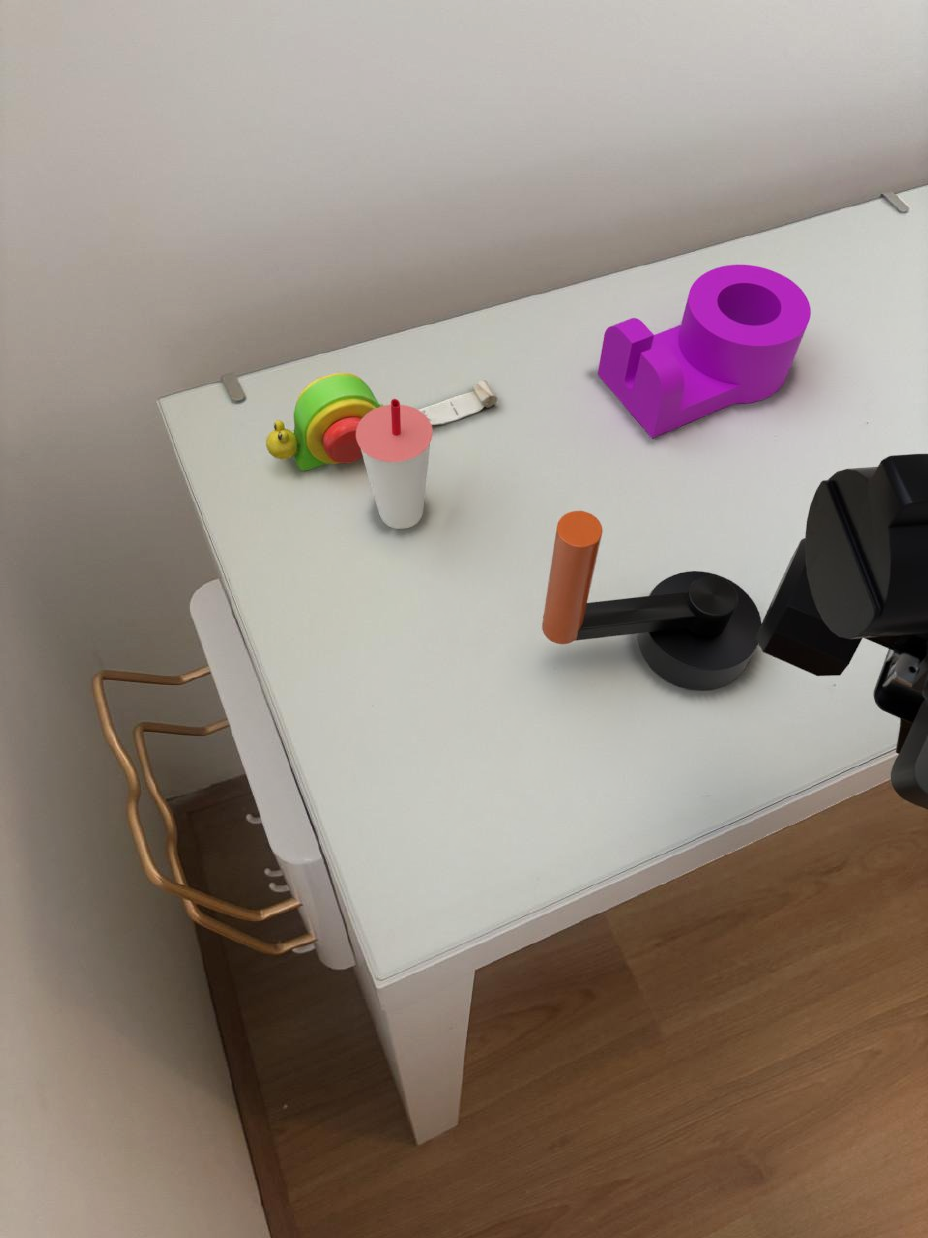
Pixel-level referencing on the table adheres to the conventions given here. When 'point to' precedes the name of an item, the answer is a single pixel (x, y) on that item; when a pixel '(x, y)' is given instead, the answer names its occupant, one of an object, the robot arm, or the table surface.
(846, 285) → the table surface
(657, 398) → the tape dispenser
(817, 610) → the robot arm
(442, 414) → the toy measuring tape
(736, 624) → the base
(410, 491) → the cup
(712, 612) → the crank handle
